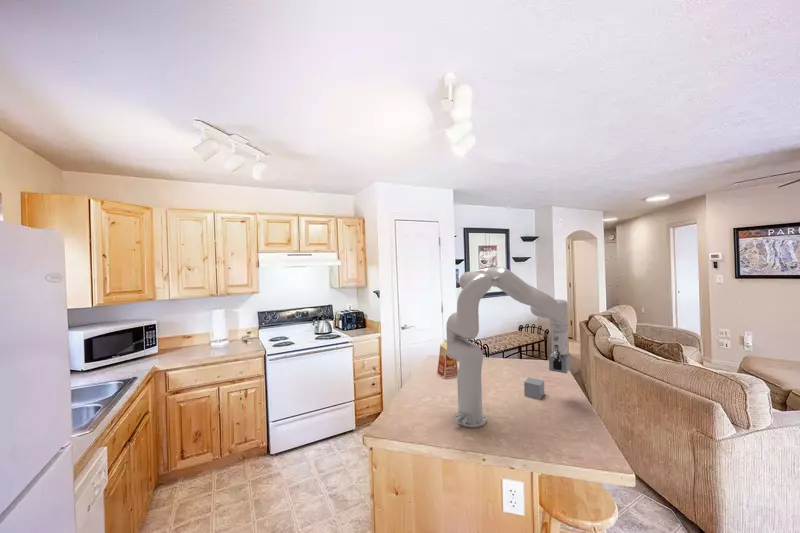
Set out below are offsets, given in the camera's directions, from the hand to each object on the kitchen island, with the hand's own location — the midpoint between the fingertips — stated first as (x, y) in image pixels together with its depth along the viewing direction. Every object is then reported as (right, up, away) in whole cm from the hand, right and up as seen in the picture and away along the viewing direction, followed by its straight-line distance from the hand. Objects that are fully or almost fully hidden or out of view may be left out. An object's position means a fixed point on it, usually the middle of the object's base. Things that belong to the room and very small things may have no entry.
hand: (559, 366), depth 143 cm
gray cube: (-8, -16, +7) cm, 19 cm away
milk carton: (-44, -16, +36) cm, 59 cm away
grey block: (0, -1, 0) cm, 1 cm away
